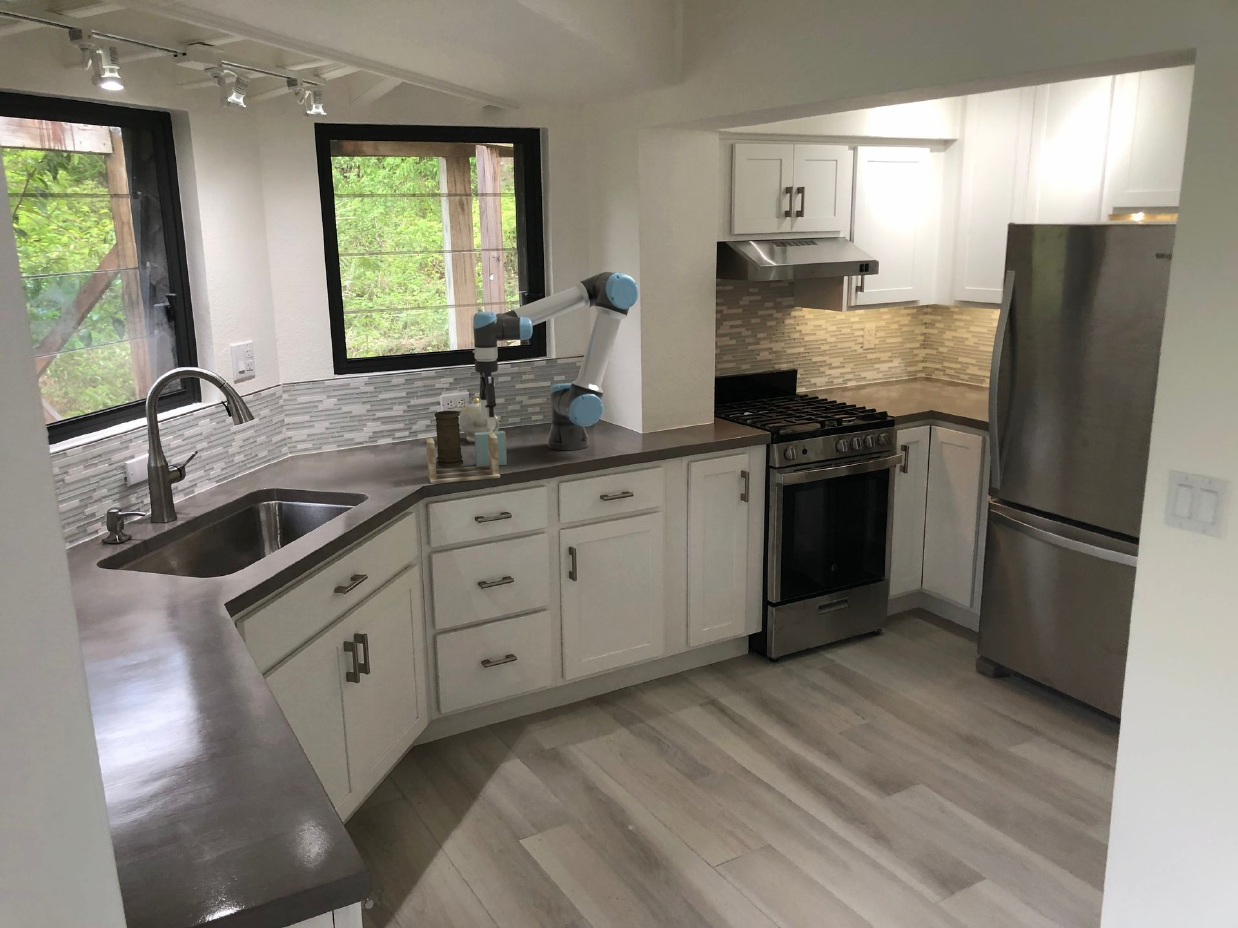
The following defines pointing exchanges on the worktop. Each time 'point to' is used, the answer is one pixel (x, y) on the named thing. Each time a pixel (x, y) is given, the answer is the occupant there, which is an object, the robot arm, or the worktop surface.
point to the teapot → (474, 421)
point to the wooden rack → (466, 472)
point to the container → (448, 439)
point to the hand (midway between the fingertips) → (488, 422)
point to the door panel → (483, 449)
